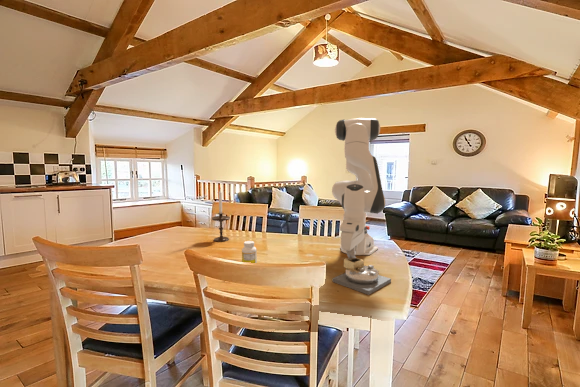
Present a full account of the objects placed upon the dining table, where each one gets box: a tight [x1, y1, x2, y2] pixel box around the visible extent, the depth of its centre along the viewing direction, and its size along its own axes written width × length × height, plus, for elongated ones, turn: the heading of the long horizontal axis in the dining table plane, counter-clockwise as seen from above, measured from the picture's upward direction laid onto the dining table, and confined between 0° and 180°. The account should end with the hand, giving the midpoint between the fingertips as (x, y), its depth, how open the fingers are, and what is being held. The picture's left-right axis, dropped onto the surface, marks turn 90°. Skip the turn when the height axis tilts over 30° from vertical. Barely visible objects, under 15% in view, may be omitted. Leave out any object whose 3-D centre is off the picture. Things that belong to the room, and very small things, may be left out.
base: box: [331, 272, 392, 296], centre depth 124 cm, size 17×17×4 cm
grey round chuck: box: [343, 257, 379, 284], centre depth 124 cm, size 14×13×6 cm
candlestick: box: [211, 185, 231, 243], centre depth 188 cm, size 11×11×35 cm
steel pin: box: [346, 249, 357, 262], centre depth 126 cm, size 3×3×9 cm
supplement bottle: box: [241, 240, 258, 264], centre depth 138 cm, size 7×7×13 cm
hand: (353, 254), depth 129 cm, fingers closed
